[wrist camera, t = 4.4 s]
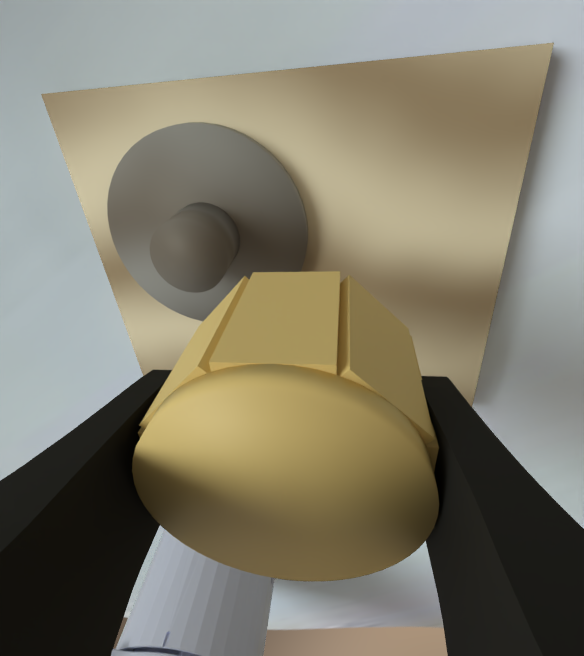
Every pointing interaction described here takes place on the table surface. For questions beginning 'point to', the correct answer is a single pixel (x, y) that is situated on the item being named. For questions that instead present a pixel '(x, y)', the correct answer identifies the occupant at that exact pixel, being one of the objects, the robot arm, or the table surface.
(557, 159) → the table surface
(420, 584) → the table surface
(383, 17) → the table surface
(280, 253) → the stud plate
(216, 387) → the cap
